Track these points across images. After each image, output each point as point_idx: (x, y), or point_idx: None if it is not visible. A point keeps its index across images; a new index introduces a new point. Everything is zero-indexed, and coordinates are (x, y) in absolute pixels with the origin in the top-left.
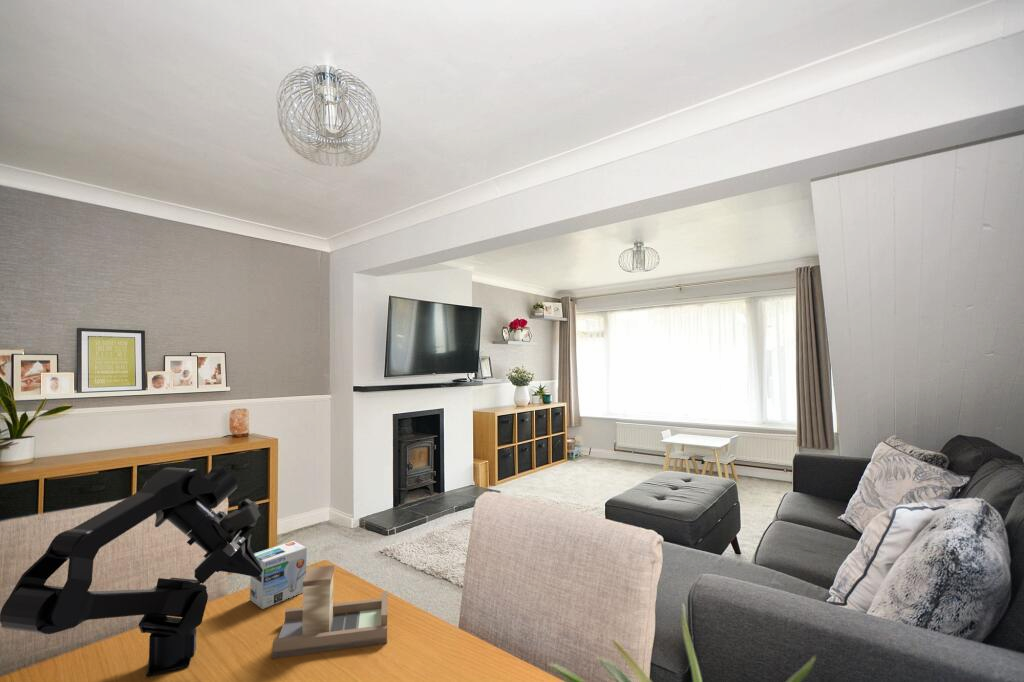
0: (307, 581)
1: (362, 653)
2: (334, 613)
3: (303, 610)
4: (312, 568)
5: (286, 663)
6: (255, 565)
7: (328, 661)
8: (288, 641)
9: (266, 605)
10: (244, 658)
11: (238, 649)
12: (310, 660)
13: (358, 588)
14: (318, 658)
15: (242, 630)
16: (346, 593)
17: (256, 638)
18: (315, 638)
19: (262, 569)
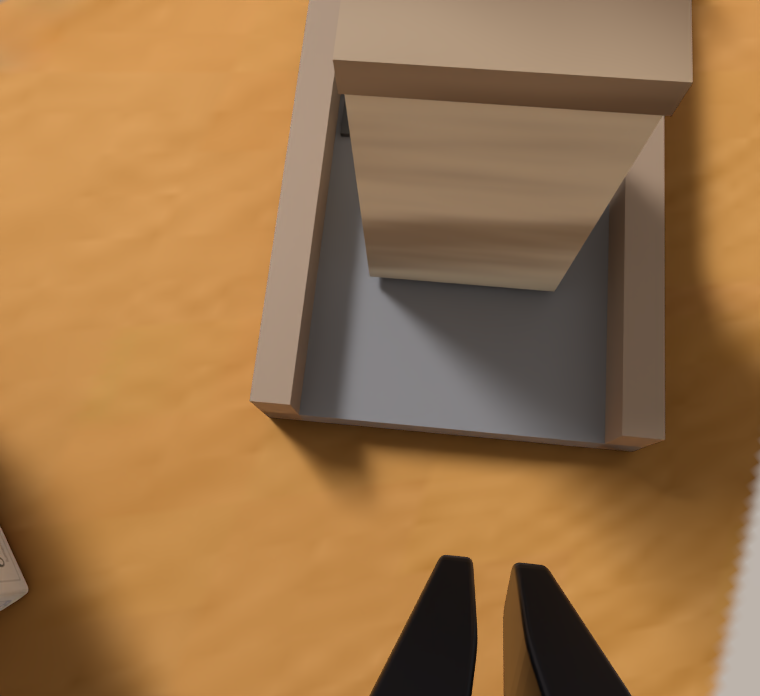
0: (689, 41)
1: (693, 28)
2: (334, 134)
3: (598, 216)
4: (373, 15)
5: (693, 372)
6: (575, 688)
7: (724, 172)
8: (663, 347)
9: (12, 567)
10: (586, 614)
11: (478, 669)
12: (695, 255)
13: (21, 40)
14: (686, 219)
15: (256, 684)
16: (51, 101)
17: (386, 575)
18: (661, 201)
19: (449, 562)
